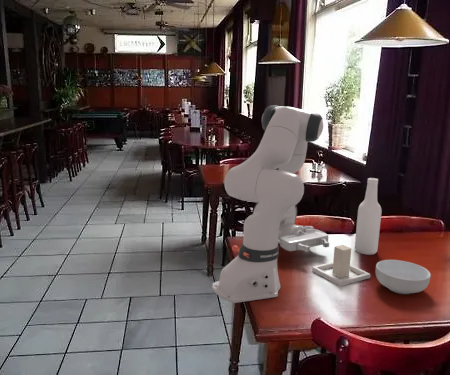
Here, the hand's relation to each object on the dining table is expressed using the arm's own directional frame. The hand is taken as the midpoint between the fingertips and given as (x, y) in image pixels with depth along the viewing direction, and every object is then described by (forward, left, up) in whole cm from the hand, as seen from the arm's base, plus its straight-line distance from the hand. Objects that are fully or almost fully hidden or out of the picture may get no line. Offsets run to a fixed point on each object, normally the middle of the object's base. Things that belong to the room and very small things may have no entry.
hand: (318, 247), depth 162 cm
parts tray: (0, -12, -6) cm, 13 cm away
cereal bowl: (+9, -30, -6) cm, 32 cm away
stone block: (0, -12, -6) cm, 13 cm away
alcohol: (+26, 0, -6) cm, 27 cm away
